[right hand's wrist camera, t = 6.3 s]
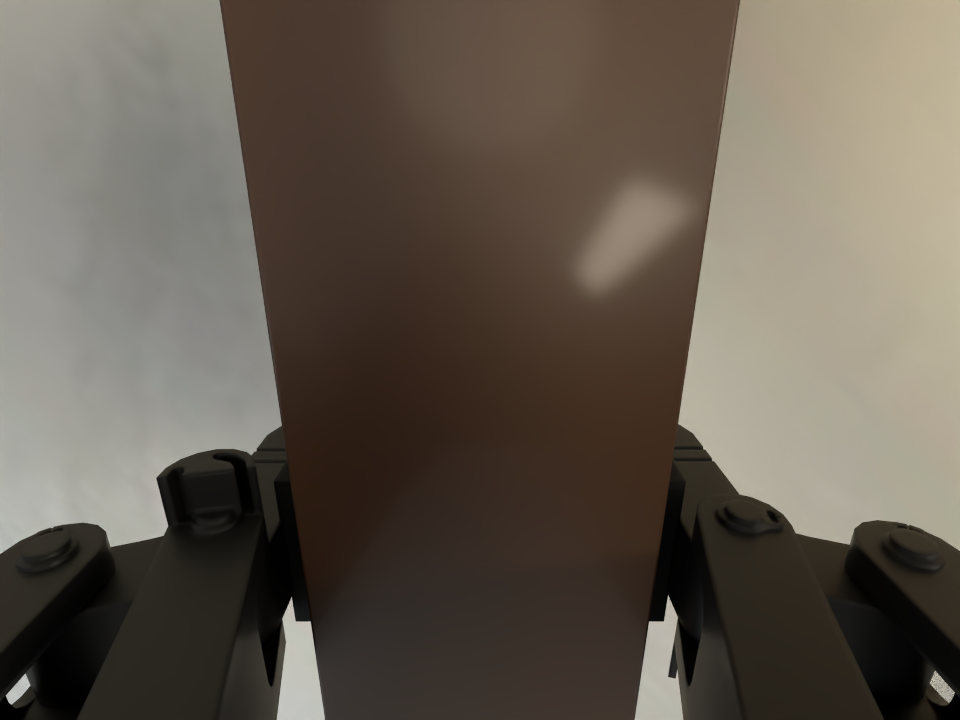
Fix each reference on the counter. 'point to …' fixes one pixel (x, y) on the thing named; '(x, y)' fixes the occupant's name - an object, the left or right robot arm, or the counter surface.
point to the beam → (479, 329)
